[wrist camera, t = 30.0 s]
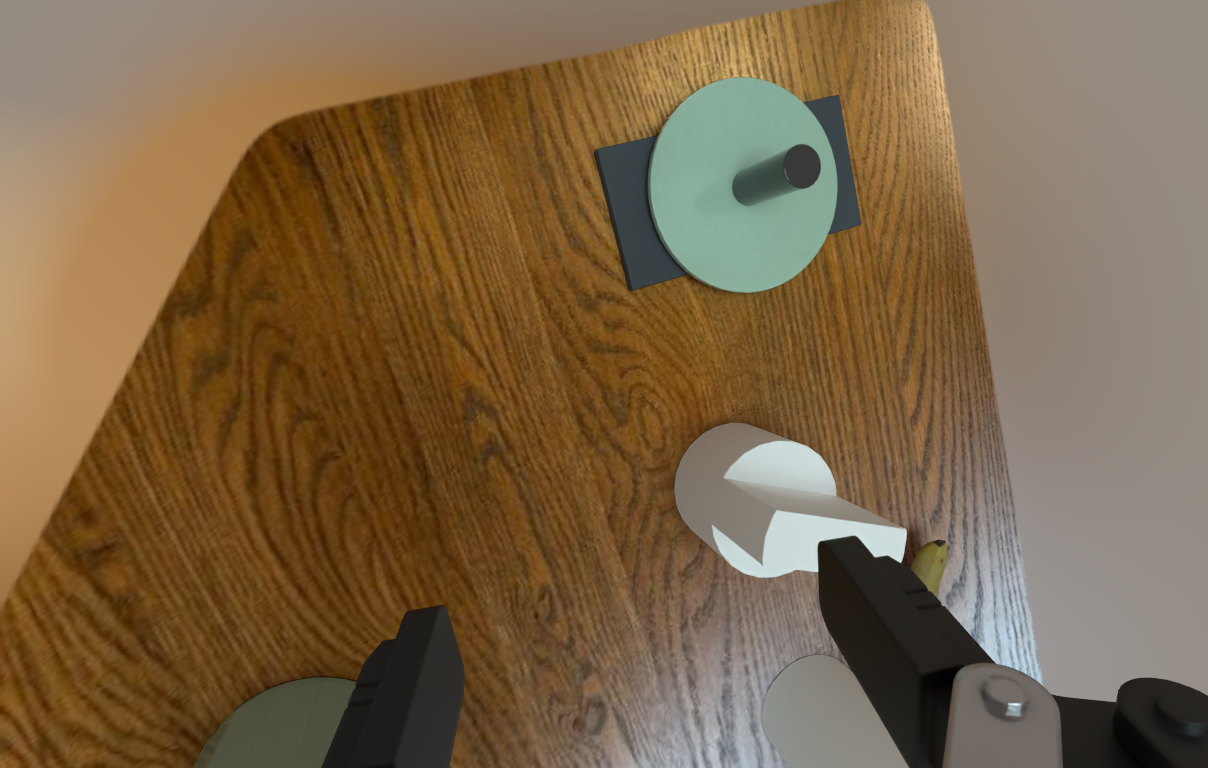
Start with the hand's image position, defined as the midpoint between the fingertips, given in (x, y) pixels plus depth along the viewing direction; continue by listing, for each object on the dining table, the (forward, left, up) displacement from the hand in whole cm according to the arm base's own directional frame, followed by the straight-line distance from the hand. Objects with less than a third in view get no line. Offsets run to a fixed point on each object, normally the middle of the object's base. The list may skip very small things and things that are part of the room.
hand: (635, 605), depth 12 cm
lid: (+10, +19, -25) cm, 33 cm away
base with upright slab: (+17, 0, -27) cm, 32 cm away
